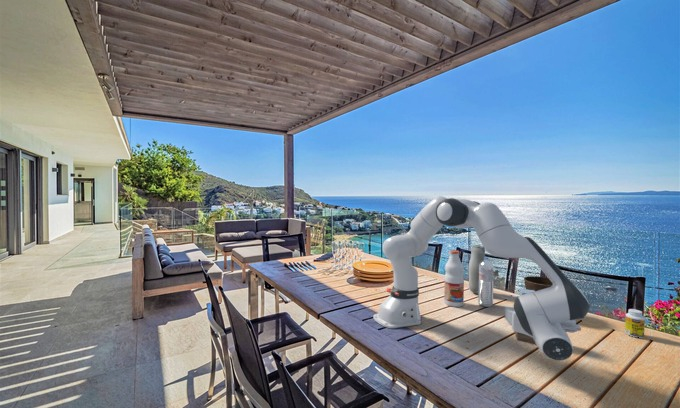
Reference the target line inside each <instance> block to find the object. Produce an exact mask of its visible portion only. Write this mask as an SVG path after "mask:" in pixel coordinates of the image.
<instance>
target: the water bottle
mask: <svg viewBox="0 0 680 408" xmlns="http://www.w3.org/2000/svg"><path fill="white" fill-rule="evenodd" d="M484 259H485V260H484V261H482V262H481V263H480V264H479V294H478V299H477V300H478V305H479V306H480V307H483V308H492V307H493V306H494V269H495V268H494V267H495V266H494V264H493V263H492V262H491V261H490V260H489V257H487V256H485V257H484Z"/></svg>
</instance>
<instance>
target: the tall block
mask: <svg viewBox="0 0 680 408" xmlns="http://www.w3.org/2000/svg"><path fill="white" fill-rule="evenodd" d="M530 292H535V291H534V290H526V288H524V289H523V288H519V296H520V295H524V294H527V293H530Z"/></svg>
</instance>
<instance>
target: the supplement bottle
mask: <svg viewBox="0 0 680 408" xmlns="http://www.w3.org/2000/svg"><path fill="white" fill-rule="evenodd" d="M645 320H646V318H645V316H644V315H643V311H642V310H638V309H635V308H629V309H628V311H627V312H626V313H625V321H624V333H625V334H626V336H629V335H630V337H632V336H633V337H632V338H635V337H639V338H638V339H644V338H645V325H646V324H645V323H646V321H645Z"/></svg>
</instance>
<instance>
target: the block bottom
mask: <svg viewBox="0 0 680 408" xmlns="http://www.w3.org/2000/svg"><path fill="white" fill-rule="evenodd" d="M513 332H514V334H515V338H516V340H517V341H519V342H526V343H532V344H536V343H535V341H534V339H533V338H532V337H530V336H528V335H525V334H522V333H519V332H515V331H513Z"/></svg>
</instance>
